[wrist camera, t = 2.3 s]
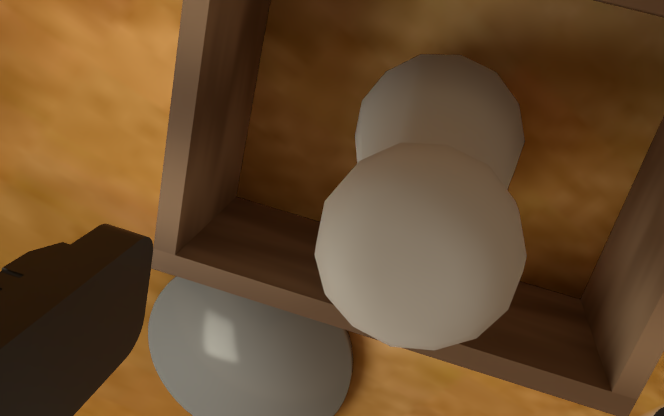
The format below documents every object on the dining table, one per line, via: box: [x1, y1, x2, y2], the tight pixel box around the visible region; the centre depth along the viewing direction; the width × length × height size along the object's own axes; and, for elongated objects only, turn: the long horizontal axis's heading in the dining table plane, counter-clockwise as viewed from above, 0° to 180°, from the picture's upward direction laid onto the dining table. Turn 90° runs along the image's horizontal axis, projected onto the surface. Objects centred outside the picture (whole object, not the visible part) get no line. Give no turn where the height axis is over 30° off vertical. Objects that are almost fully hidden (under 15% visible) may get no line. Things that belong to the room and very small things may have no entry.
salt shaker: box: [315, 54, 527, 350], centre depth 17 cm, size 6×6×13 cm
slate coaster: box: [148, 276, 353, 416], centre depth 29 cm, size 10×10×1 cm
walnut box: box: [151, 0, 664, 416], centre depth 21 cm, size 13×17×6 cm
